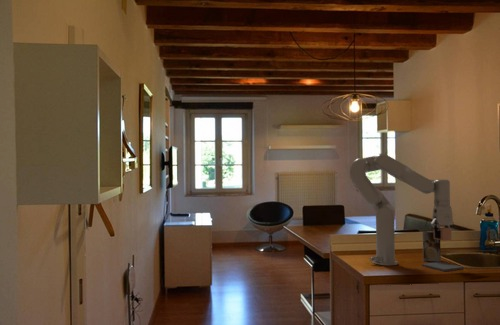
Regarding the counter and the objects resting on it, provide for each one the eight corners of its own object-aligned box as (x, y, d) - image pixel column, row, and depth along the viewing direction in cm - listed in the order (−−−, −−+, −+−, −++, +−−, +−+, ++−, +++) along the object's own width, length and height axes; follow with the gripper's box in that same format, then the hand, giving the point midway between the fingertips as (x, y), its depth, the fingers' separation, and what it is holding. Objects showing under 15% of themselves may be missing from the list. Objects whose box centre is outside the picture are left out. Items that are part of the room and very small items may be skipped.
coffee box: (440, 260, 246) (440, 231, 246) (440, 262, 240) (440, 232, 240) (422, 258, 249) (422, 230, 249) (422, 261, 243) (422, 232, 243)
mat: (444, 271, 217) (444, 269, 217) (422, 265, 230) (422, 264, 230) (463, 268, 224) (463, 266, 224) (440, 263, 236) (440, 261, 236)
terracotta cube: (443, 240, 223) (443, 228, 223) (433, 238, 228) (433, 227, 229) (451, 239, 226) (451, 228, 226) (441, 238, 231) (441, 226, 231)
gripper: (436, 204, 220) (436, 240, 220) (459, 203, 228) (460, 237, 227) (424, 203, 227) (424, 238, 227) (447, 202, 235) (447, 235, 234)
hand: (442, 237), depth 227 cm, fingers closed on terracotta cube, 6 cm apart
